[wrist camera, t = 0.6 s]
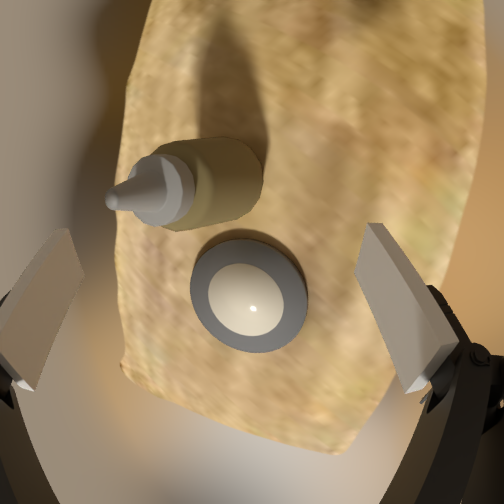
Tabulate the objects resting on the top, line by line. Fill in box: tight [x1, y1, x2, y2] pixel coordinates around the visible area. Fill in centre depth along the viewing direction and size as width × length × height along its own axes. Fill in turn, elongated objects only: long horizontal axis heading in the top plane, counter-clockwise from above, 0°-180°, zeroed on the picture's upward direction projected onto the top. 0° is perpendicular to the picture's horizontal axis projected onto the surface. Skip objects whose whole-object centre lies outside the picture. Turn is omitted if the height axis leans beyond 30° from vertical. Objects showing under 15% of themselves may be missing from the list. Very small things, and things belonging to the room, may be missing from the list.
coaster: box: [190, 239, 308, 353], centre depth 34 cm, size 14×14×1 cm
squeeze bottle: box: [105, 137, 263, 232], centre depth 23 cm, size 8×8×18 cm
